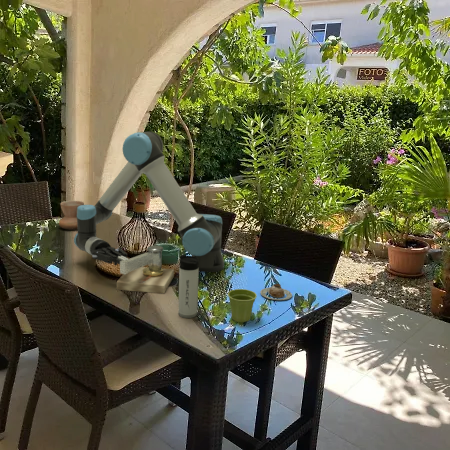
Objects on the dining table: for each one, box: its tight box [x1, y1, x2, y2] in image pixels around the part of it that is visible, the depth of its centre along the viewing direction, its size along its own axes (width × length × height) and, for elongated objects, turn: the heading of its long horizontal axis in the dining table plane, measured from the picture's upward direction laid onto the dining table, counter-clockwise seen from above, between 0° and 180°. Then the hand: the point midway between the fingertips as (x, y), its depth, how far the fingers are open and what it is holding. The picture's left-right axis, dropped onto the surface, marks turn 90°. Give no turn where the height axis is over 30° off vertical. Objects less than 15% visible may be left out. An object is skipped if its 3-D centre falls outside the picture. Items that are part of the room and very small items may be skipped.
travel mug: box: [177, 254, 200, 319], centre depth 153 cm, size 6×7×20 cm
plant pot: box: [227, 288, 258, 323], centre depth 152 cm, size 9×9×9 cm
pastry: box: [260, 283, 293, 301], centre depth 174 cm, size 12×12×5 cm
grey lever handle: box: [119, 245, 164, 276], centre depth 175 cm, size 21×8×10 cm, turn 149°
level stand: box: [116, 266, 175, 294], centre depth 180 cm, size 18×18×3 cm
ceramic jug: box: [58, 200, 85, 231], centre depth 250 cm, size 18×14×14 cm
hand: (128, 264), depth 171 cm, fingers closed
